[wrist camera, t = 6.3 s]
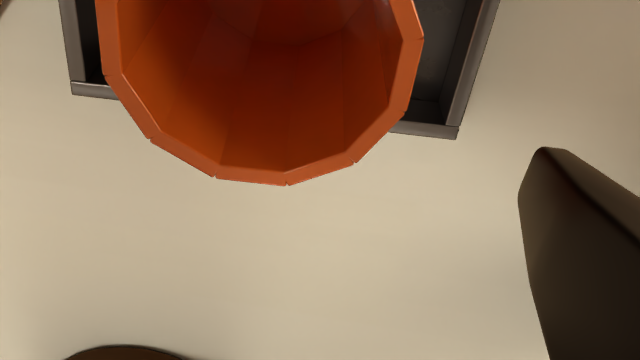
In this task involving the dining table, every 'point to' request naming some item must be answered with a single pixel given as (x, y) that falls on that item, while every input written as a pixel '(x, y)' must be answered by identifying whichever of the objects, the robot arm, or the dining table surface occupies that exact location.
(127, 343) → the dining table surface
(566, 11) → the dining table surface
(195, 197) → the dining table surface
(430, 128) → the drip tray
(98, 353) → the olive oil
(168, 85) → the orange cup
